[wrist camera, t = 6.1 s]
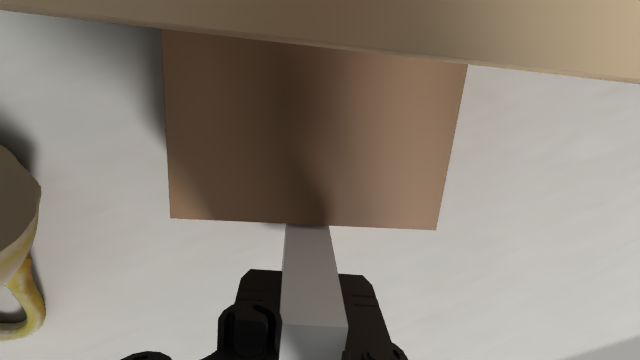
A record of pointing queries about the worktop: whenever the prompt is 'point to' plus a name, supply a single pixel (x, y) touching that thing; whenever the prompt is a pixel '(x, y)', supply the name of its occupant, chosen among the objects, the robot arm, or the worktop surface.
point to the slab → (306, 132)
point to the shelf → (404, 28)
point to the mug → (19, 243)
